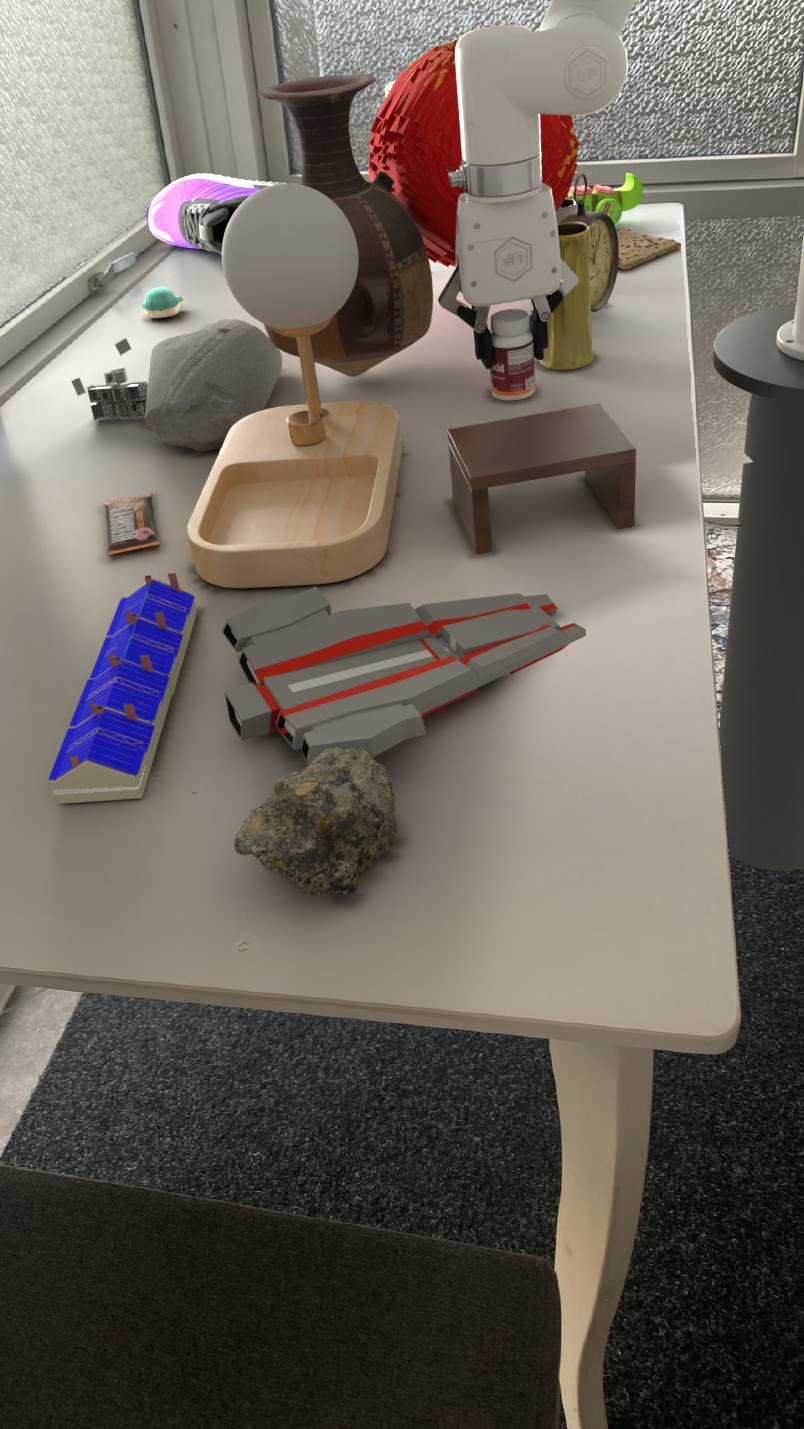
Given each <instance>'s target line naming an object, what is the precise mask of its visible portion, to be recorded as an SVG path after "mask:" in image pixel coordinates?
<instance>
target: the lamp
mask: <svg viewBox="0 0 804 1429" xmlns="http://www.w3.org/2000/svg"><path fill="white" fill-rule="evenodd" d="M299 184H300V183H290V182H289V183H287V182H285V184H276V185H272V186H268V187H265V188H263V189H261V190H259V191H257V192H255V193H253V194H252V195H251V196H249V197H248V198H247V199H246V200H244V201H243V202H242V203H241V204H240V206H239V207H238V208H237V209H236V211H235V212H234V214H233V215H232V217H231V219H230V221H229V223H228V225H227V228H226V230H225V234H224V238H223V244H222V255H221V263H222V270H223V274H224V277H225V281H226V283H227V286H228V288H229V290H230V292H231V294H232V296H233V297H234V299H235V301H236V302H237V303H238V304H239V306H240V307H241V308H242V309H243V310H244V311H245V312H246V313H247V314H248V315H250V316H251V317H252V318H254V319H255V320H257V321H258V322H260V323H262V324H263V325H264V324H266V325H268V327H269V328H270V329H271V330H273V331H274V332H276V333H278V334H280V335H283V336H287V337H296V339H297V345H298V351H299V357H298V358H299V361H300V368H301V375H302V380H303V387H304V392H305V399H306V403H304V404H291V405H282V406H281V405H280V406H275V407H270V408H265V409H264V410H262V411H259V412H256V413H253V414H251V415H249V416H247V417H245V418H243V419H241V420H240V421H238V422H237V423H235V424H234V425H233V426H232V427H231V429H230V430H229V432H228V434H227V436H226V439H225V441H224V443H223V446H222V448H221V449H219V452H218V454H217V457H216V459H215V461H214V464H213V466H212V469H211V471H210V473H209V476H208V477H207V479H206V482H205V484H204V486H203V488H202V491H201V494H200V495H199V498H198V499H197V502H196V505H195V506H194V509H193V512H192V514H191V516H190V519H189V521H188V522H187V526H186V536H187V540H188V545H189V549H190V552H191V556H192V559H193V560H192V561H193V563H194V568H195V570H196V573H197V574H198V576H199V577H201V579H202V580H204V581H205V582H207V583H209V584H211V585H214V586H218V587H222V588H229V589H252V588H253V589H255V588H274V587H294V586H310V585H325V584H332V583H337V582H342V581H345V580H349V579H352V578H354V577H357V576H359V575H362V574H364V573H365V572H367V571H369V570H370V569H372V568H373V567H375V566H376V565H377V564H378V563H380V561H381V560H382V559H383V557H384V556H385V555H386V552H387V549H388V545H389V538H390V532H391V527H392V526H391V525H392V519H393V514H394V506H395V500H396V494H397V493H396V492H397V488H398V482H399V475H400V468H401V462H402V461H401V460H402V455H403V447H402V446H403V445H402V439H401V438H402V437H401V429H400V428H401V427H400V420H399V415H398V413H397V411H396V410H395V409H394V408H392V407H391V406H389V405H387V404H384V403H380V402H377V401H369V400H348V401H347V400H345V401H332V402H330V401H329V402H321V396H320V391H319V390H320V389H319V383H318V377H317V370H316V367H315V362H314V358H313V351H312V345H311V339H310V335H312V334H315V333H317V332H319V331H321V330H322V329H324V328H325V327H326V326H327V325H328V324H329V323H330V321H331V320H332V318H333V316H334V315H335V314H336V313H337V312H338V311H339V310H340V309H341V307H342V306H343V305H344V304H345V302H346V301H347V299H348V298H349V296H350V294H351V292H352V289H353V287H354V284H355V281H356V277H357V271H358V248H357V242H356V238H355V235H354V232H353V229H352V227H351V225H350V223H349V221H348V219H347V218H346V216H345V215H344V213H343V212H342V211H341V209H340V208H339V207H338V206H337V205H336V204H335V203H334V202H333V201H332V200H331V199H329V198H328V197H327V196H325V195H324V194H322V193H321V192H319V191H317V190H315V189H313V188H310V187H307V186H304V185H299Z"/></svg>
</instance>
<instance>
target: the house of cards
mask: <svg viewBox="0 0 804 1429" xmlns="http://www.w3.org/2000/svg"><path fill="white" fill-rule="evenodd" d="M114 347H115V348H116V350H117V352H118V354H119V356H122V355H124V354H126V353H128V352H129V351H132V347H131V345H130V343H129V341H128V338H126V337H124V338H123V339H121V340H119V341H118V342H117V343H115V344H114ZM103 376H104V380H105V384H97V385H94V384H92V385H89V386H86V389H85V387H84V385H83V382H82V380H81V378H80V377H77V378H74V379H72V380H71V381H70V382H71V384H72V386H73V388H74V390H75V393H76V395H77V397H80V396H82V395H84V394H86V393H87V394H88V399H89V404H90V409H91V414H92V417H93V421H94V422H95V421H98V420H103V419H113V418H118V419H119V421H120V420H122V419H127V418H138V417H140V418H141V417H143V419H144V420H145V410H146V399H147V388H148V381H136V382H135V381H134V382H133V381H132V382H128V383H127V381H128V374H127V370H126V367H121V368H118V369H113V370H110V371H108V372H105V373H103ZM86 390H87V391H86Z"/></svg>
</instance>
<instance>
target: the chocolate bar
mask: <svg viewBox="0 0 804 1429" xmlns="http://www.w3.org/2000/svg"><path fill="white" fill-rule="evenodd" d="M153 495H154V494H153V492H150V493H144V494H140V495H135V496H130V497H126V498H125V497H123V498H120V499H114V500H110V501H105V502H103V506H104V508H105V511H106V525H107V540H108V542H107V543H108V548H107V551H106V556H110V555H114V554H120V553H124V552H130V551H134V550H138V549H143V548H149V547H152V546H156V545H158V546H159V545H160V540H159V538H158V537H157V533H156V525H155V518H154V511H153V502H152V499H153Z"/></svg>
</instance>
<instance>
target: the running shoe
mask: <svg viewBox="0 0 804 1429" xmlns="http://www.w3.org/2000/svg"><path fill="white" fill-rule="evenodd" d="M276 184H286V182H279V181H275V182H273V181H265V180H262V181H259V180H254V181H253V180H251V179H245V178H237V177H231V176H223V175H222V174H214V173H207V172H203V173H195V174H190V175H185V176H184V177H180V178H178V179H177V180H173V181H172V182H171V183H170V184H168V185H167V186H165V187H164V188H163V189H162V190H161V191H160V192H158V194H156V195H155V196H154V197H153V199H151V201H150V203H149V205H148V207H147V210H146V214H145V217H146V223H147V226H148V229H149V231H150V232H151V233H152V235H153V236H154V237H156V239H158V240H159V241H162V242H164V243H167V244H169V245H172V246H177V247H181V248H187V249H196V250H197V249H199V250H204V251H207V252H210V253H211V252H212V253H215V254H218V255H220V256H222V244H223V238H224V234H225V230H226V228H227V225H228V223H229V221H230V219H231V217H232V215H233V214H234V212H235V211H236V209H237V208H238V207H239V206H240V204H241V203H242V202H243V201H244V200H246V199H247V198H248V197H249V196H251V195H252V194H253V193H255V192H257V191H259V190H261V189H263V188H265V187H268V186H272V185H276Z"/></svg>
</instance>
